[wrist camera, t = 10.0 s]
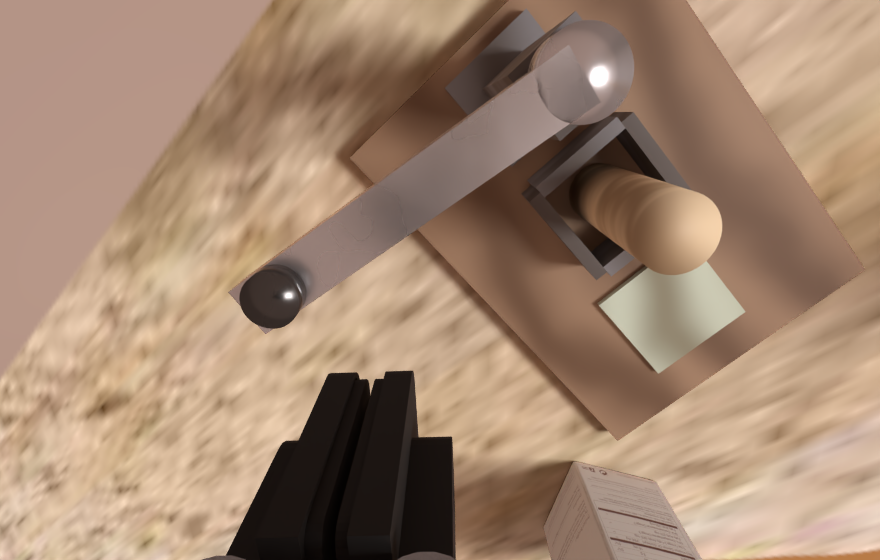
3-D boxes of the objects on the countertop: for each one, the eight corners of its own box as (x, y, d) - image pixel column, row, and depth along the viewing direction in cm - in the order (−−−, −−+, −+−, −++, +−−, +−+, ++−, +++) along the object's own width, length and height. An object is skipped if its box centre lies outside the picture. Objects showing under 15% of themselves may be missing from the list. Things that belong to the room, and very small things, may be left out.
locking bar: (587, 9, 16) (615, -11, 14) (630, 89, 17) (665, 85, 14) (238, 266, 19) (205, 291, 16) (289, 324, 20) (265, 357, 17)
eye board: (608, -97, 27) (759, -287, 14) (851, 264, 33) (1103, 358, 21) (352, 156, 31) (291, 187, 18) (612, 430, 38) (699, 593, 25)
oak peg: (604, 150, 30) (691, 171, 20) (638, 194, 31) (738, 236, 20) (557, 190, 31) (617, 231, 20) (592, 232, 32) (666, 291, 21)
